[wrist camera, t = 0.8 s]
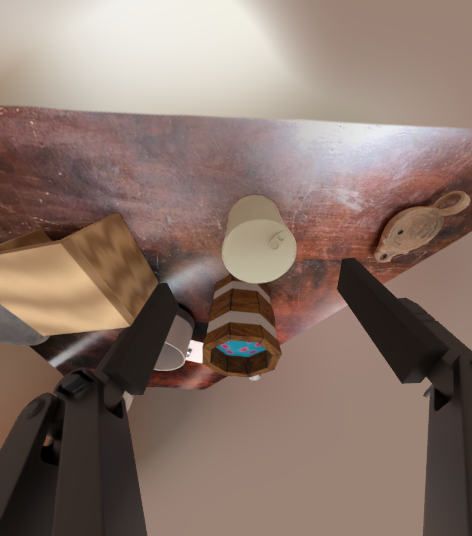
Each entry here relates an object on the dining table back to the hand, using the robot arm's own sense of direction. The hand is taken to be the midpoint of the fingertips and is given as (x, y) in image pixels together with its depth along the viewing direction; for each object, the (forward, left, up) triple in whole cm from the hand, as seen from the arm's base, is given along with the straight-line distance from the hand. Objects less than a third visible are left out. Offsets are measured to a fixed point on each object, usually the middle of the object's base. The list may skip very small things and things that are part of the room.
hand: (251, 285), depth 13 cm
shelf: (+4, -31, -20) cm, 37 cm away
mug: (+22, -4, -20) cm, 30 cm away
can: (+2, +1, -20) cm, 20 cm away
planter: (+24, -24, -20) cm, 39 cm away
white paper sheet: (+40, -25, -20) cm, 51 cm away
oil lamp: (+7, +26, -20) cm, 33 cm away
